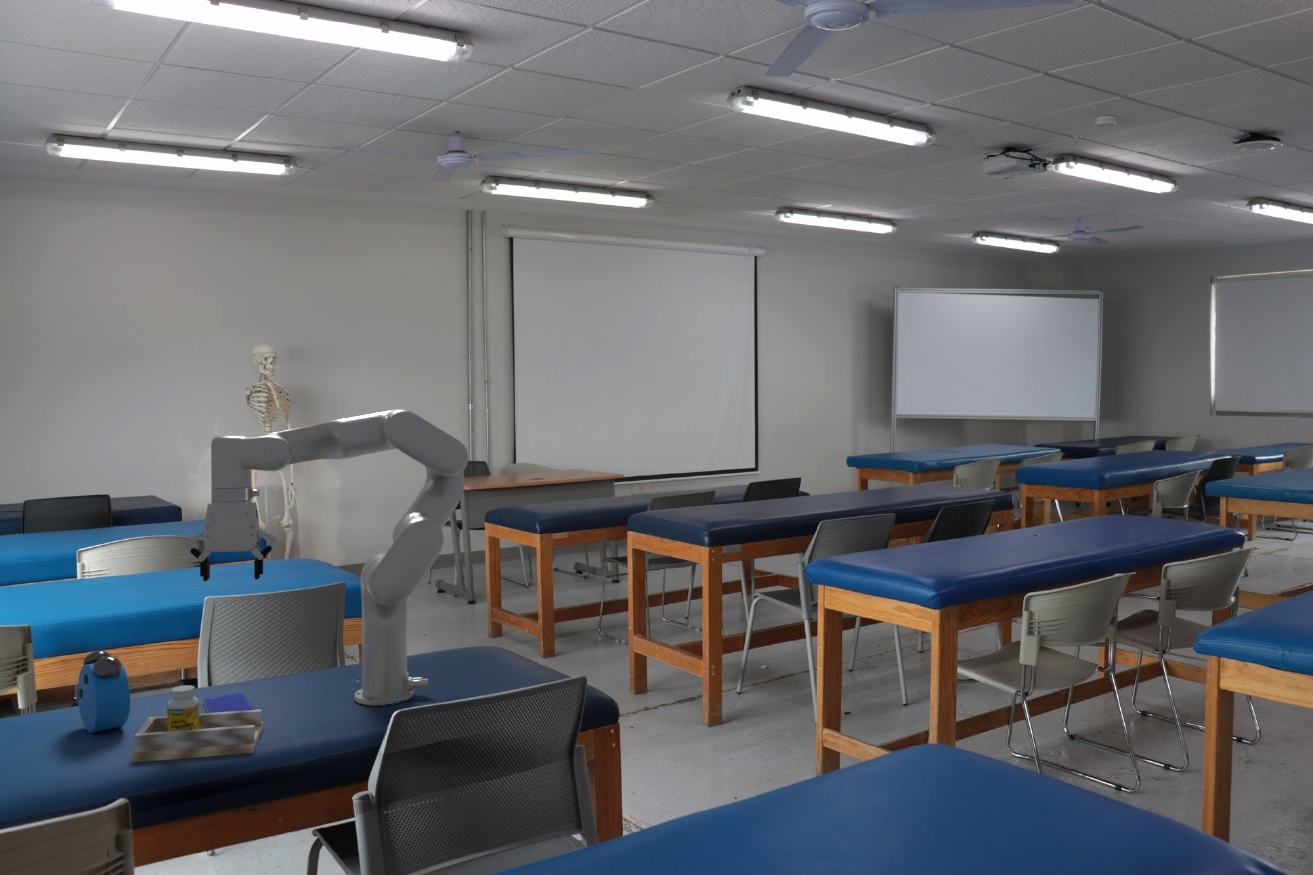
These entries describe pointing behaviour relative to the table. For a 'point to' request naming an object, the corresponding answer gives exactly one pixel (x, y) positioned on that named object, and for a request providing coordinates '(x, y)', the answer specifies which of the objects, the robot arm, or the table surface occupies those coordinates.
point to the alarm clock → (103, 692)
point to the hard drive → (227, 703)
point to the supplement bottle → (183, 709)
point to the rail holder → (199, 737)
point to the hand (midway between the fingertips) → (232, 579)
